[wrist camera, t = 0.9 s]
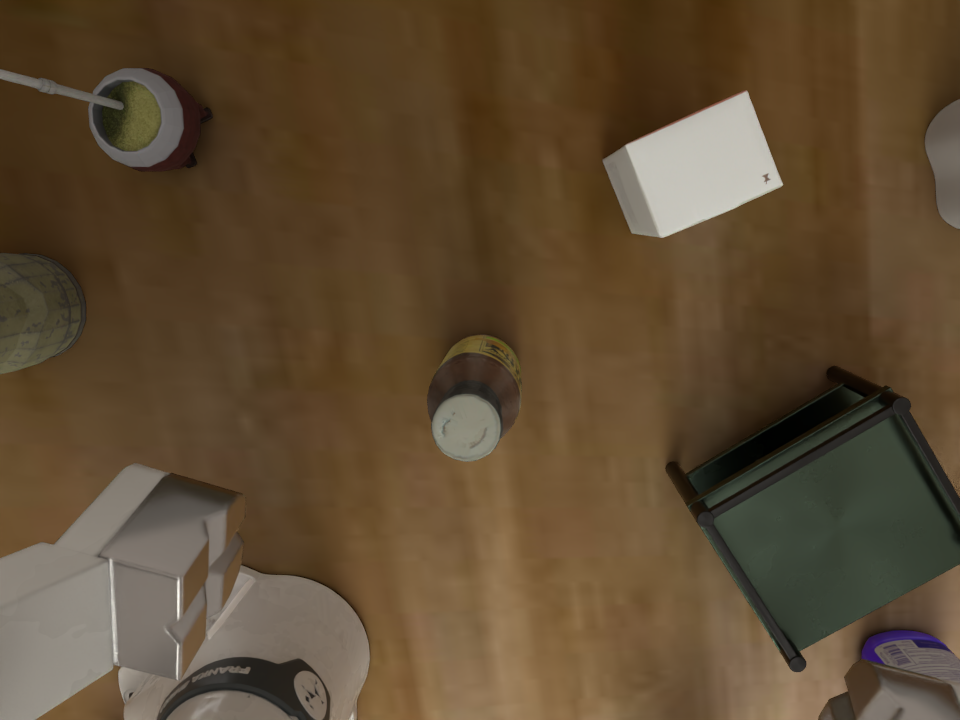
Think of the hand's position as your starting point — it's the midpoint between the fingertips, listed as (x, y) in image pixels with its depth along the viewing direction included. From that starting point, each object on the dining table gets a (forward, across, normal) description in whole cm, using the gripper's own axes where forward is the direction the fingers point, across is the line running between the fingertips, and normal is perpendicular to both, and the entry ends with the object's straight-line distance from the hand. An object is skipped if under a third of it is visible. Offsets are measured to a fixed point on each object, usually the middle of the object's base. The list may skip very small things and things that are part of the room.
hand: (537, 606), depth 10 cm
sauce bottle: (+47, -3, -25) cm, 53 cm away
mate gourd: (+50, -31, -12) cm, 60 cm away
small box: (+54, +7, -8) cm, 55 cm away
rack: (+47, +24, -28) cm, 60 cm away
